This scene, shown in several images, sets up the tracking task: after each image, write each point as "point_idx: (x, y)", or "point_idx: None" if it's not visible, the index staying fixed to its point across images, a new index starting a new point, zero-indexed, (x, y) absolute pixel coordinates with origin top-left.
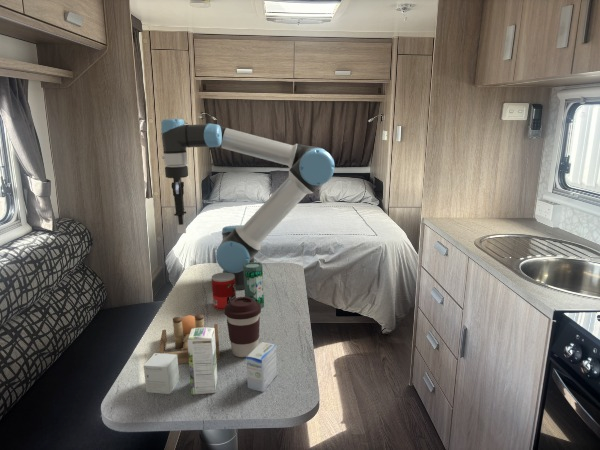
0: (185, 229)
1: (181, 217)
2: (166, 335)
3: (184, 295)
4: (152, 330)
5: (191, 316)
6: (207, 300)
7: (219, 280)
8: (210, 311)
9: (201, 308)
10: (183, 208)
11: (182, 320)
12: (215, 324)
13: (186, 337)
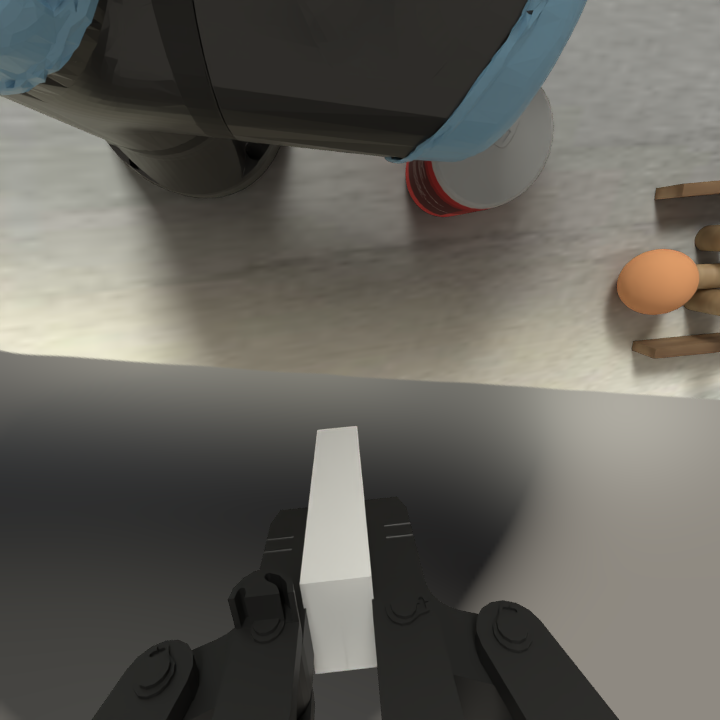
0: (357, 444)
1: (422, 580)
2: (643, 343)
3: (316, 336)
4: (565, 388)
5: (685, 275)
6: (379, 245)
7: (545, 160)
8: (481, 226)
9: (447, 262)
10: (291, 708)
11: (684, 303)
12: (686, 191)
13: (713, 282)
